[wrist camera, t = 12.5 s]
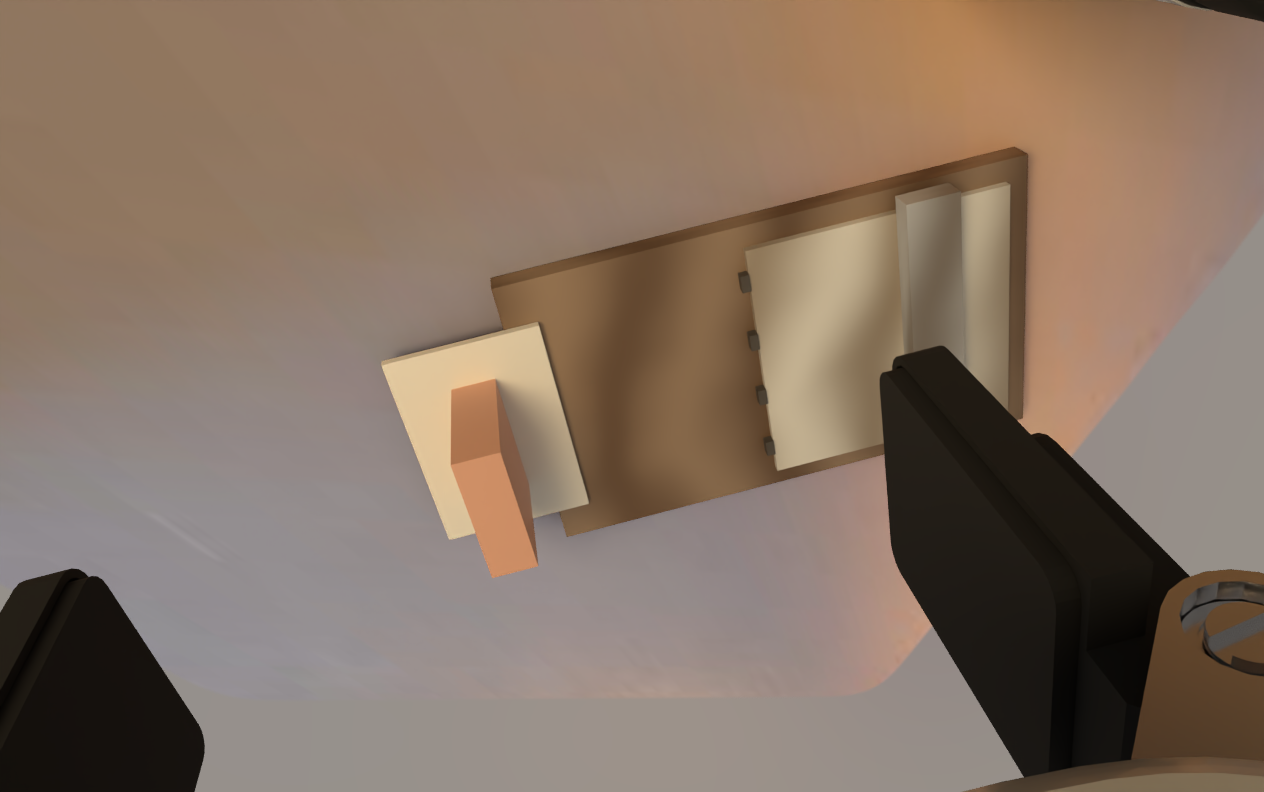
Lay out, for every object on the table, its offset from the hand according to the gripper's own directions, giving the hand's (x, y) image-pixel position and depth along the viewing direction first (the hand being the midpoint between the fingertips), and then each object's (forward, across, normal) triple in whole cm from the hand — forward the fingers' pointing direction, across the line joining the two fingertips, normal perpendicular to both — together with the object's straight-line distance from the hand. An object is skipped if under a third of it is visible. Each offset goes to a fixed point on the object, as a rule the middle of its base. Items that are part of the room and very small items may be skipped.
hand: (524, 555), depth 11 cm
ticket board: (+30, -10, +16) cm, 36 cm away
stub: (+29, +4, +16) cm, 33 cm away
